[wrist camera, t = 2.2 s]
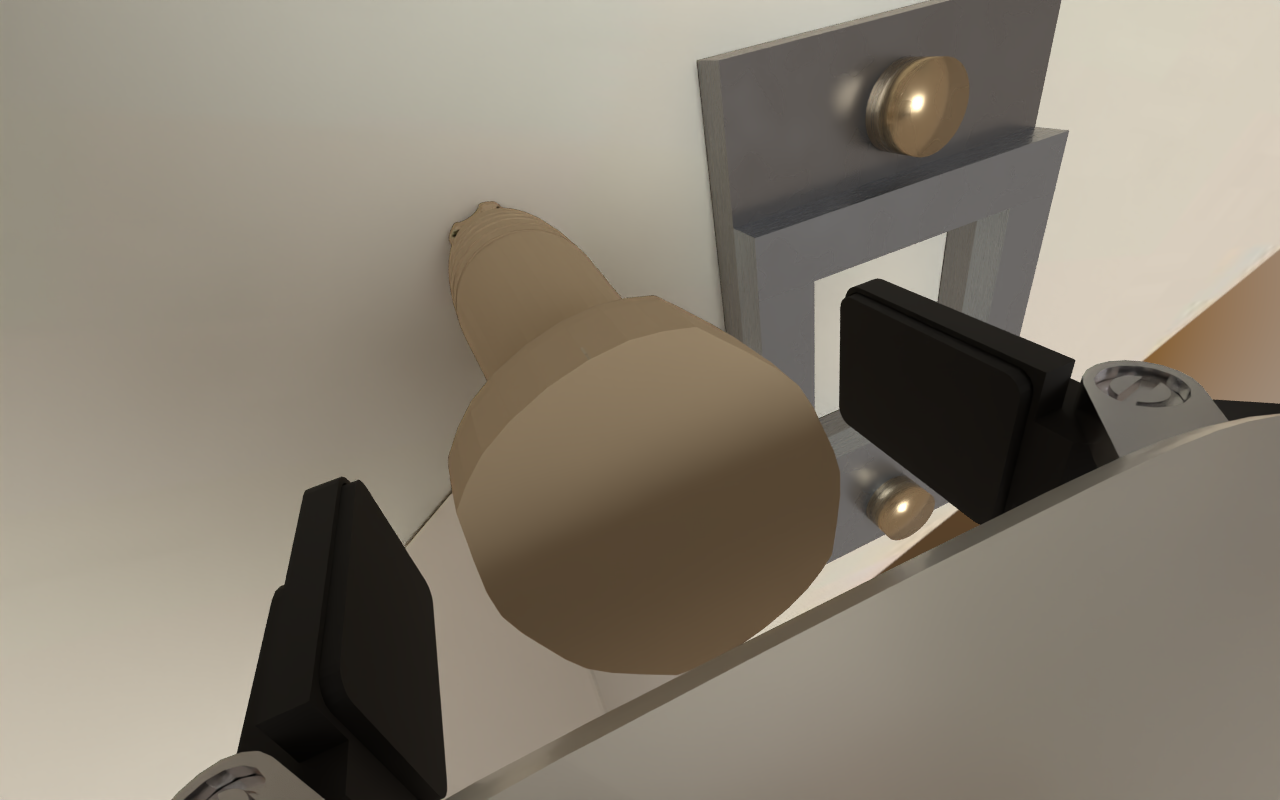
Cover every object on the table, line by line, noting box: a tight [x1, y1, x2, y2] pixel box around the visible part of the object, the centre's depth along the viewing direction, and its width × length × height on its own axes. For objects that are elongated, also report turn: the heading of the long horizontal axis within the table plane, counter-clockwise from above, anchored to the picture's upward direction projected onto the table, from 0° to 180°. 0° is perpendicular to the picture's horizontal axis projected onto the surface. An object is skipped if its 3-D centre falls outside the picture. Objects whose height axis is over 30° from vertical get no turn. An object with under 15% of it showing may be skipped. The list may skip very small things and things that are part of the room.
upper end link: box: [733, 127, 1069, 565], centre depth 28 cm, size 20×15×5 cm
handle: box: [448, 201, 840, 675], centre depth 14 cm, size 5×6×15 cm
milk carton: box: [405, 493, 688, 800], centre depth 18 cm, size 7×7×19 cm
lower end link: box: [697, 0, 1061, 437], centre depth 25 cm, size 20×15×3 cm
